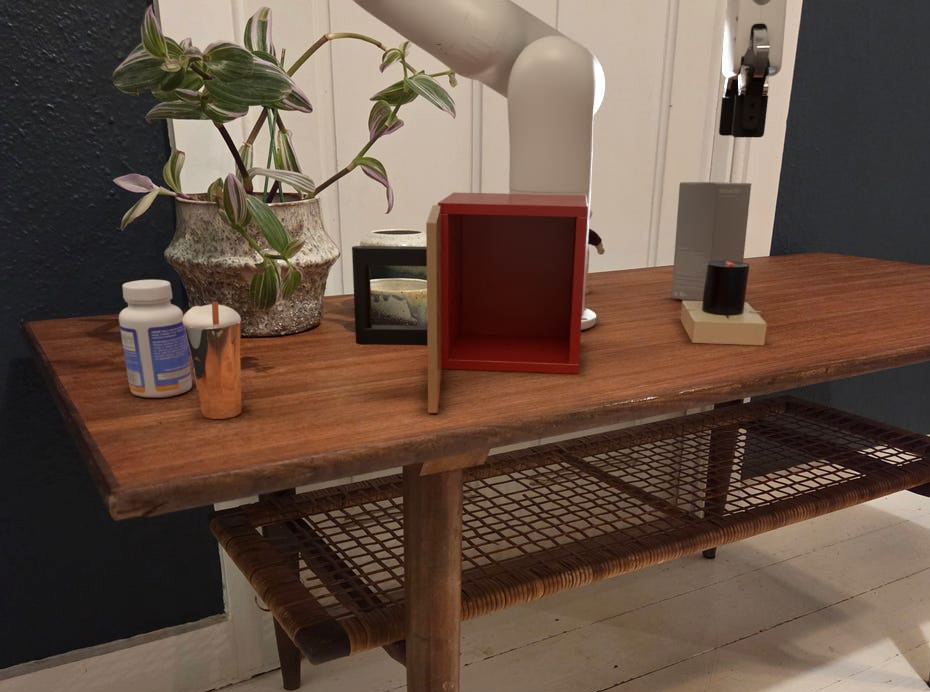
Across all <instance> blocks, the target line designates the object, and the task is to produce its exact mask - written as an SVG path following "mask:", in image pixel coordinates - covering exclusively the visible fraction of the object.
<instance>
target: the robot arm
mask: <svg viewBox="0 0 930 692" xmlns="http://www.w3.org/2000/svg"><path fill="white" fill-rule="evenodd" d="M352 1H353V2H354V3H355V4H357V5H358V6H359V7H360V8H362V10H364V11H365V12H367V13H368V14H369V15H371V16H372V17H374V18H376V19H377V20H379V21H380V22H381V23H383V24H385V26H387V27H389V28H391V29H392V30H393V31H394V32H396V33H398V34H399V35H400V36H402V37H403V39H406V40H407V41H408V42H410V43H412V44H414V45H415V46H417V47H418V48H420V49H421V50H423V51H425V52H426V53H427V54H429V55H430V56H432V57H434V58H435V59H436V60H438V61H439V62H440V63H442V64H443V65H444V66H446V67H447V68H448V69H449V70H451V71H452V70H453V71H452V72H453V73H455V74H456V75H458V76H461V77H463V78H467V79H469V80H474V81H478V82H480V83H481V84H483V85H485V86H486V87H488V88H490V89H491V90H492V91H494V92H496V93H497V94H499V95H501V96H502V97H504V98H506V101H507V103H506V104H507V119H508V139H509V141H508V142H509V174H508V175H509V176H508V177H509V179H508V181H509V182H508V189H509V192H508V194H546V195H586V199H587V204H588V214H587V231H586V249H585V266H584V283H583V301H582V318H581V331H583V330H588V329H590V328H592V327H594V326H595V325H596V323H597V313H595V312H594V311H593V310H591V309H589V308H585V302H586V301H585V299H586V298H585V295H586V294H585V287H586V286H585V284H586V267H587V249H588V248H589V244H588V232H589V229H590V219H589V215H590V208H591V197H592V175H593V153H594V152H593V148H594V117H595V116H594V115H595V114H596V113H597V112H598V110H599V108H600V106H601V104H602V102H603V99H604V97H605V96H604V95H605V89H606V80H605V74H604V71H603V66H602V65H601V62H600V61H599V59H598V58H597V57H596V56H595V54H594V53H593V52H591V50H589V49H588V48H587V47H585V46H584V45H583V44H581V43H579V42H578V41H575V40H574V39H572V38H570V37H569V36H567V35H565V34H564V33H562V32H561V31H559V30H557V28H554V27H553V26H551V25H550V24H548V23H546V22H545V21H543V20H542V19H540V18H539V17H537V16H536V15H534V14H532V13H531V12H530V11H528V10H527V9H525V8H523V7H521V6H520V5H518V4H517V3H515V2H514V1H512V0H352ZM787 2H788V0H727V1H726V8H725V9H726V11H725V18H724V19H725V21H724V31H723V42H722V43H723V44H722V58H721V73H722V75H723V76H724V77H725V78H726V79H725V82H724V87H723V96H722V97H721V105H720V115H719V126H718V127H719V128H718V134H719V136H722V137H725V136H727V137H728V136H729V137H730V136H731V137H733V138H762V137H764V135H765V130H766V121H767V112H768V103H769V102H768V101H769V95H768V93H769V89H770V88H769V87H770V86H769V85H770V84H769V81H770V80H769V78H771V77H774V76H777V74H778V73H779V72H780V71H781V70H782V66H783V54H784V44H785V43H784V42H785V41H784V40H785V28H786V18H787V17H786V16H787ZM436 44H441V45H438V46H439V47H440V48H441V49H442V50H441V49H440V48H439V47H438V46H436ZM445 53H446V54H447V55H446V54H445Z"/></svg>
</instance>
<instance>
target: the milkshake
mask: <svg viewBox="0 0 930 692" xmlns="http://www.w3.org/2000/svg"><path fill="white" fill-rule="evenodd" d="M182 322H183V326H184V330H185V335H186V341H187V349H188V353H189V357H190V360H191V365H192V370H193V375H194V381H195V386H196V391H197V396H198V401H199V406H200V412H201V415H202V416H203V418H207V419H211V420H225V419H230V418H234V417H237V416H238V415H240V414H241V413H242V369H241V368H242V367H241V366H242V365H241V344H242V343H241V334H242V331H241V329H242V319H241V316H240V314H239V313H238V311H236V310H235V309H233V308H232V307H230V306H226V305H223V304H219V302H218V301H213V302H211V304H206V305H195V306H192V307H191V308H190V309H188V310H187V311H186V312H185V313H184V314H183V319H182Z"/></svg>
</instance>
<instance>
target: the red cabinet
mask: <svg viewBox="0 0 930 692" xmlns="http://www.w3.org/2000/svg"><path fill="white" fill-rule="evenodd" d="M437 205H441V353H442V369H441V370H461V371H486V372H487V371H491V372H515V373H516V372H517V373H518V372H519V373H539V374H540V373H541V374H543V373H544V374H566V375H578V374H579V370H580V369H579V367H580V351H581V333H582V332H581V331H582V330H581V318H582V301H583V283H584V266H585V249H586V231H587V214H588V204H587V199H586V195H546V194H509V193H495V192H494V193H493V192H492V193H491V192H452V193H451V194H449V195H448V196H446V197H445V198H443V199H442V200H440V201H438V202H437Z"/></svg>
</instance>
